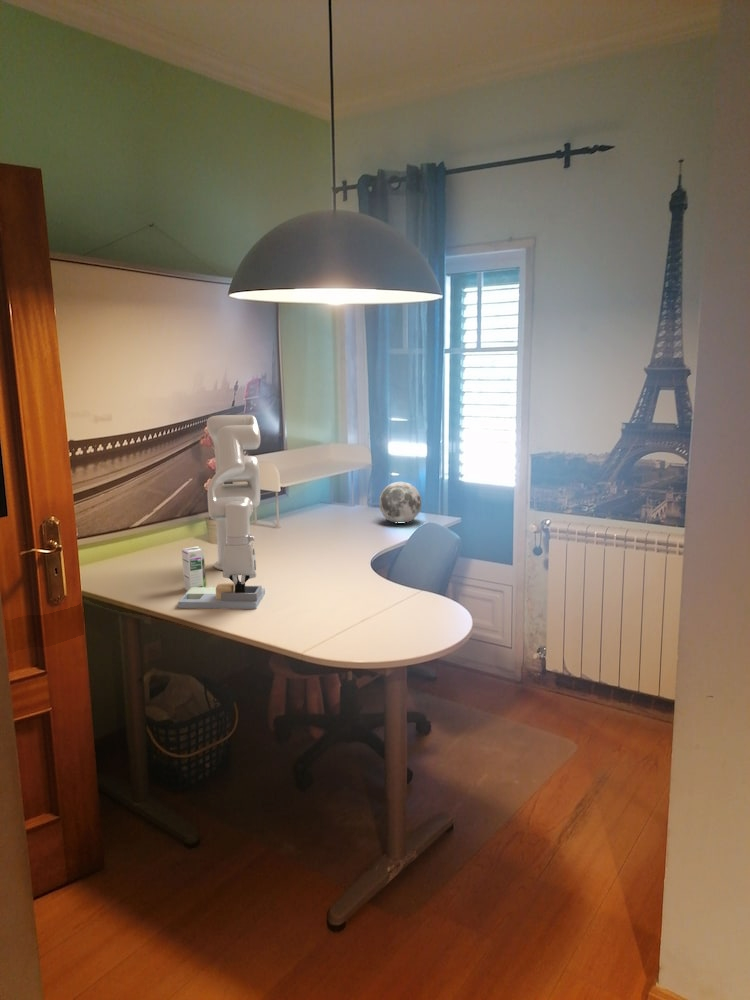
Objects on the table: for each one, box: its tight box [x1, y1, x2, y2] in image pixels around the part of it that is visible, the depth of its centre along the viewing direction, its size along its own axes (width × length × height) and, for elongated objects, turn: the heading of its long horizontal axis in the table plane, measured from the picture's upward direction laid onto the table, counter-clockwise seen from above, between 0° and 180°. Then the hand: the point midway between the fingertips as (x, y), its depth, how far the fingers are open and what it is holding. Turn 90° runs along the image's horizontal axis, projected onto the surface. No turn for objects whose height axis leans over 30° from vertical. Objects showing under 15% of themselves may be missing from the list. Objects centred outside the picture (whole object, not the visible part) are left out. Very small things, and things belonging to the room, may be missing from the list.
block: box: [216, 582, 235, 599], centre depth 238 cm, size 5×5×4 cm
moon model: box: [378, 481, 422, 524], centre depth 348 cm, size 20×20×20 cm
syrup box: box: [181, 545, 207, 592], centre depth 251 cm, size 6×6×14 cm
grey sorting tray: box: [177, 585, 266, 610], centre depth 240 cm, size 15×25×4 cm, turn 88°
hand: (240, 594), depth 238 cm, fingers closed
